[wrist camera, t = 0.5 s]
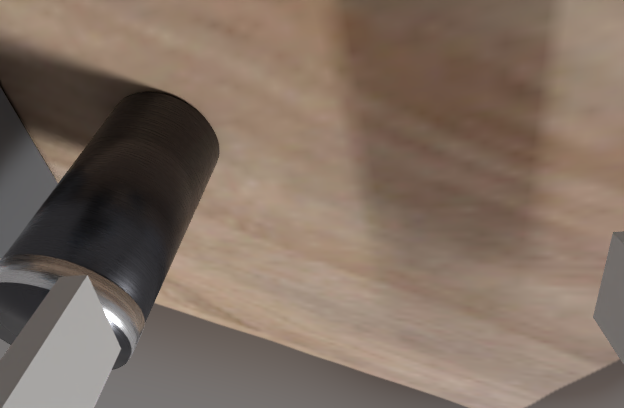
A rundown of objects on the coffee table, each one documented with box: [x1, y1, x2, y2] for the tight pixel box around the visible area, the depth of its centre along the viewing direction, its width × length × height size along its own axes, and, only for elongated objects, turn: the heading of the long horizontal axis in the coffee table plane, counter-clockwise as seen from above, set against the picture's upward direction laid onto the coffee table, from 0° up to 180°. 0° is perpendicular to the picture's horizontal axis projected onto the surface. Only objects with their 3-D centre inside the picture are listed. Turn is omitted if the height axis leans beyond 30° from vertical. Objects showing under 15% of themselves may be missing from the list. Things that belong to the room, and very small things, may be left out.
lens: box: [0, 92, 219, 370], centre depth 23 cm, size 6×6×12 cm
